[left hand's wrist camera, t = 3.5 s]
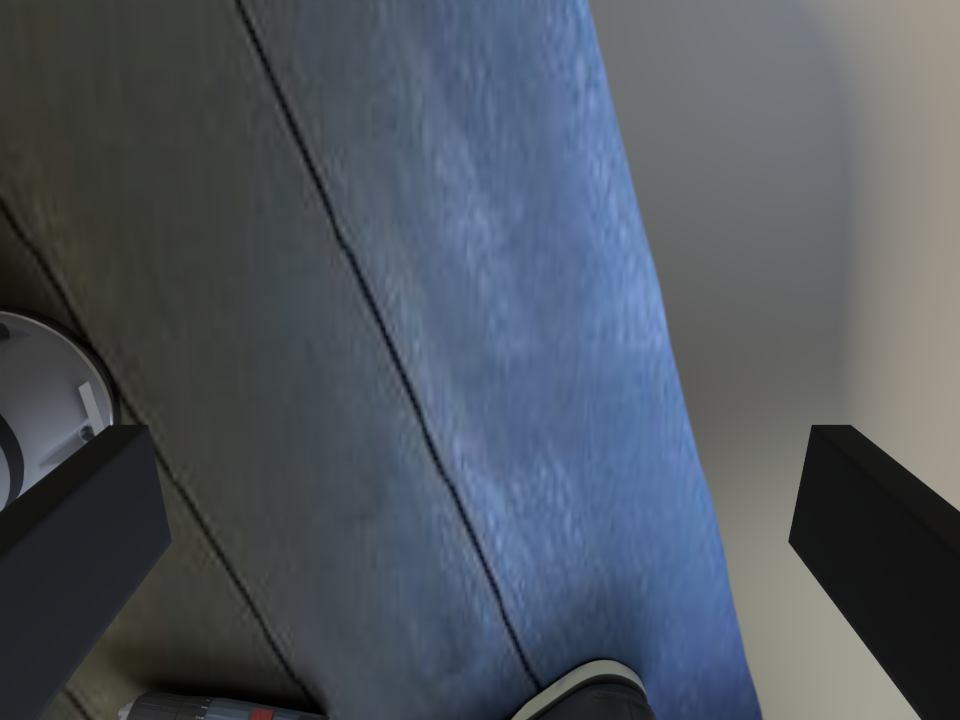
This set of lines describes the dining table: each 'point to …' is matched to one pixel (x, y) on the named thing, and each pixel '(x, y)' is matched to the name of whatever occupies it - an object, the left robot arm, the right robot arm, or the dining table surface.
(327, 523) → the dining table surface
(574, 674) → the boat shoe
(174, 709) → the power drill
